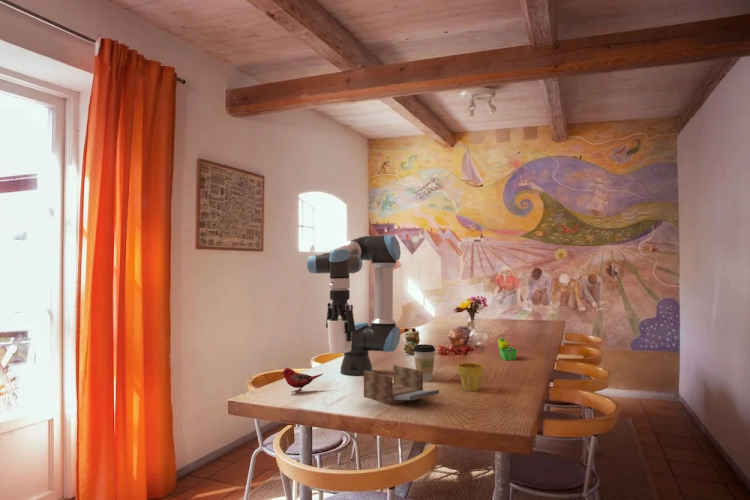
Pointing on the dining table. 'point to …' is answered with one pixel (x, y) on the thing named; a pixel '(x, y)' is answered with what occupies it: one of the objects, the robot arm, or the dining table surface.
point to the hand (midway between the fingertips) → (340, 348)
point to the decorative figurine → (411, 341)
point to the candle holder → (336, 336)
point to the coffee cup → (424, 360)
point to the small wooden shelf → (392, 384)
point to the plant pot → (470, 375)
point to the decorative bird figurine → (297, 379)
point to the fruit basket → (506, 350)
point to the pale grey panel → (416, 395)
